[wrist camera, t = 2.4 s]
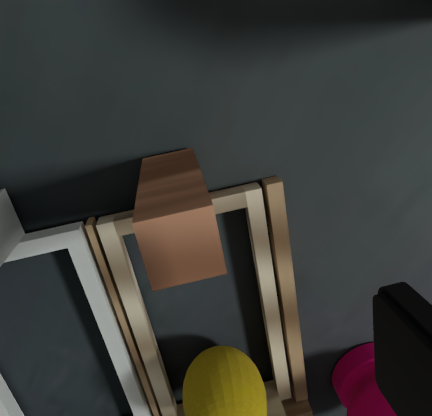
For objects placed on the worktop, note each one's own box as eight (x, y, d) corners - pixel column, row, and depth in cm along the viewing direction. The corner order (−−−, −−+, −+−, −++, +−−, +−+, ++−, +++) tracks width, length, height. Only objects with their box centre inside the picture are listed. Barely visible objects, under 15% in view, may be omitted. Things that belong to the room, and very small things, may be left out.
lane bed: (-106, 261, 22) (-129, 279, 20) (276, 175, 24) (286, 185, 22) (25, 471, 30) (16, 498, 29) (304, 398, 32) (313, 419, 30)
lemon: (171, 375, 29) (176, 484, 21) (190, 317, 27) (202, 415, 20) (238, 382, 30) (264, 488, 23) (260, 328, 28) (296, 423, 21)
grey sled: (-112, 213, 21) (-294, 319, 12) (66, 175, 22) (5, 252, 13) (30, 451, 29) (-22, 612, 21) (155, 419, 30) (153, 562, 21)
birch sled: (83, 171, 22) (34, 245, 13) (249, 135, 22) (305, 184, 14) (167, 416, 30) (170, 557, 21) (286, 385, 30) (335, 511, 22)
